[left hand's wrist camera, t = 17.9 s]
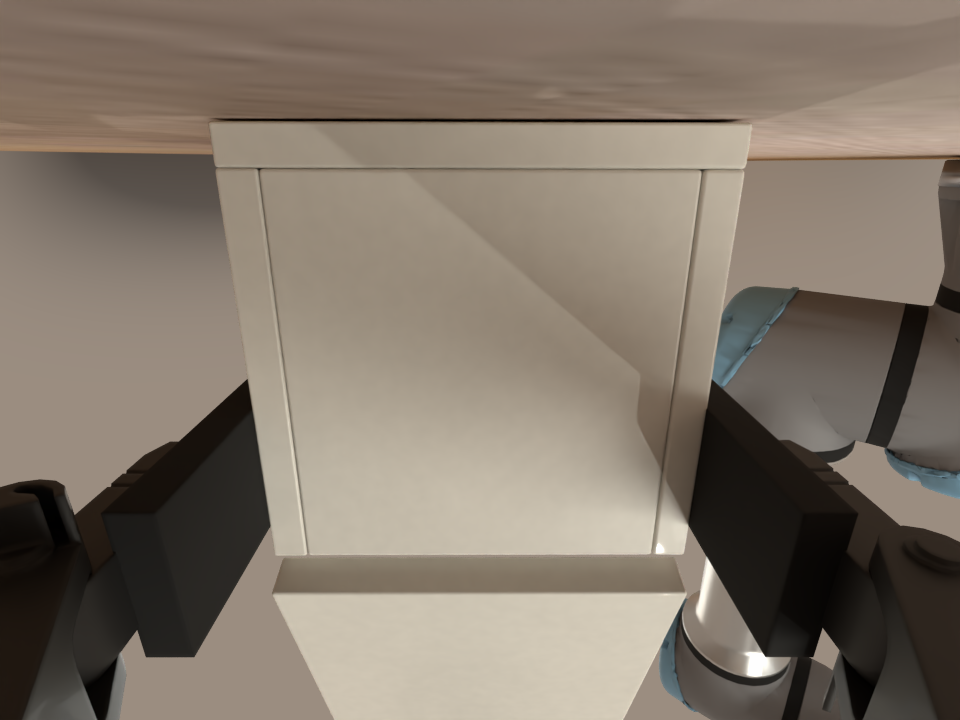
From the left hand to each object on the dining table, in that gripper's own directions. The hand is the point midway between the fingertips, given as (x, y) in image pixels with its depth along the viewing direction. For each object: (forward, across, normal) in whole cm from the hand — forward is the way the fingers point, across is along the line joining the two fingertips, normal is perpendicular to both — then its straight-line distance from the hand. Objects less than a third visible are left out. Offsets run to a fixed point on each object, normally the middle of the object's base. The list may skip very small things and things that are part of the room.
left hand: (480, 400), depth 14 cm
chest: (+5, 0, -6) cm, 8 cm away
